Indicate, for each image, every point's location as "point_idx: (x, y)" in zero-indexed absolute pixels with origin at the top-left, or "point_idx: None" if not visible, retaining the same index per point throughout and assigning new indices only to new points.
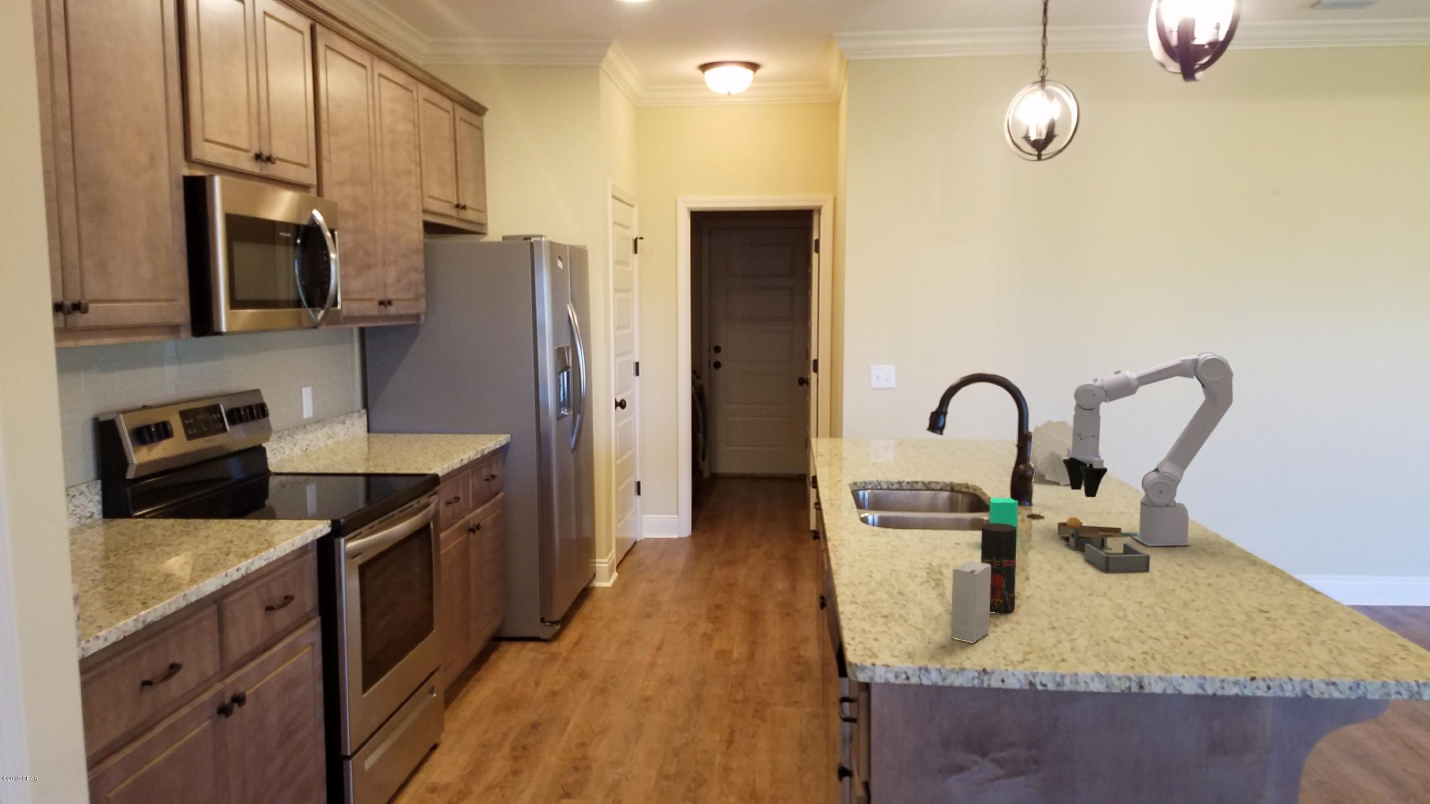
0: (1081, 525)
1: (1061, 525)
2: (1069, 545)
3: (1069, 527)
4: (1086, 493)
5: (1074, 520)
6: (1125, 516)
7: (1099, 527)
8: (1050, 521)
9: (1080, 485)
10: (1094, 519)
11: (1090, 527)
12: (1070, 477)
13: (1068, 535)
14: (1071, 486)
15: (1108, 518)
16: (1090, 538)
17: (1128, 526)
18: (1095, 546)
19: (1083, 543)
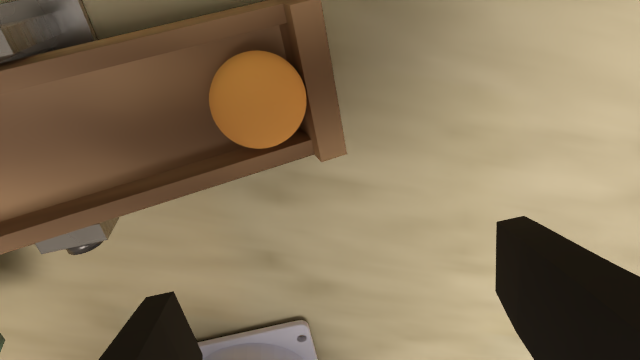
0: (314, 149)
1: (289, 20)
2: (40, 12)
3: (105, 46)
4: (125, 325)
5: (223, 109)
6: None
7: (20, 228)
8: (635, 19)
9: (515, 319)
10: (619, 237)
11: (160, 183)
12: (595, 299)
13: (134, 32)
14: (515, 234)
15: None
16: None
17: (485, 332)
18: None
19: None
